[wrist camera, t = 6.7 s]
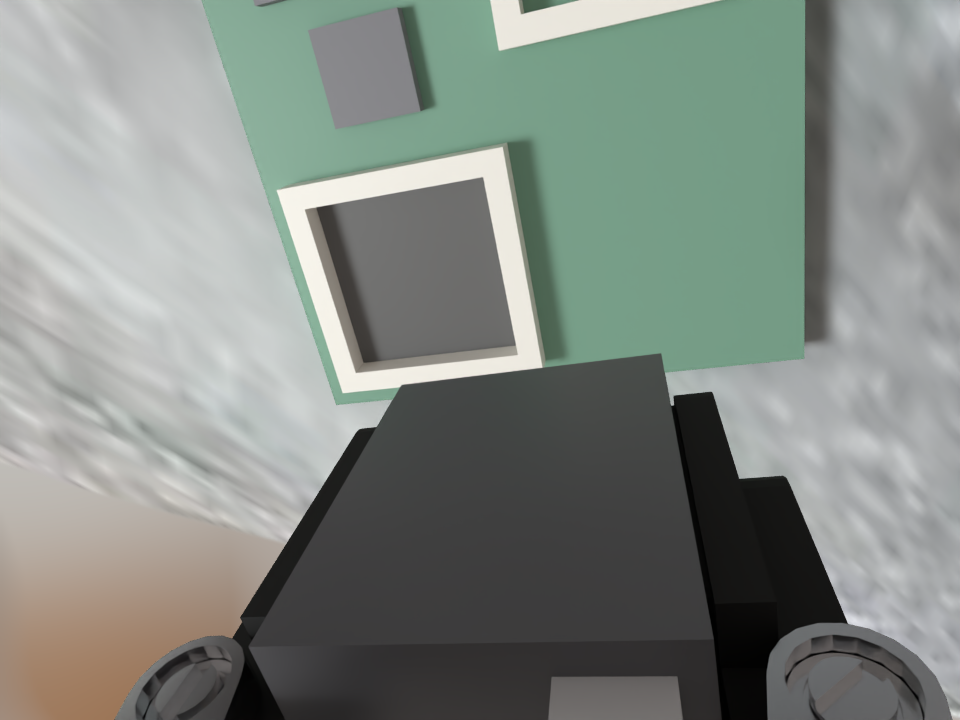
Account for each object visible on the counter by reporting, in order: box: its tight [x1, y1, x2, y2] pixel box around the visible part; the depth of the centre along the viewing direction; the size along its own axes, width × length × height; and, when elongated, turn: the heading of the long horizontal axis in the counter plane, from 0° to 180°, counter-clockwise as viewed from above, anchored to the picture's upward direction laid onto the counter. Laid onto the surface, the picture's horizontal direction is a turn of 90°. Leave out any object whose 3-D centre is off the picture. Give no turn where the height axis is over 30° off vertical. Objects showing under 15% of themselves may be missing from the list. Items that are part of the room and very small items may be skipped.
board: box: [202, 0, 805, 405], centre depth 21 cm, size 18×18×2 cm
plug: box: [249, 353, 722, 720], centre depth 8 cm, size 4×4×6 cm
